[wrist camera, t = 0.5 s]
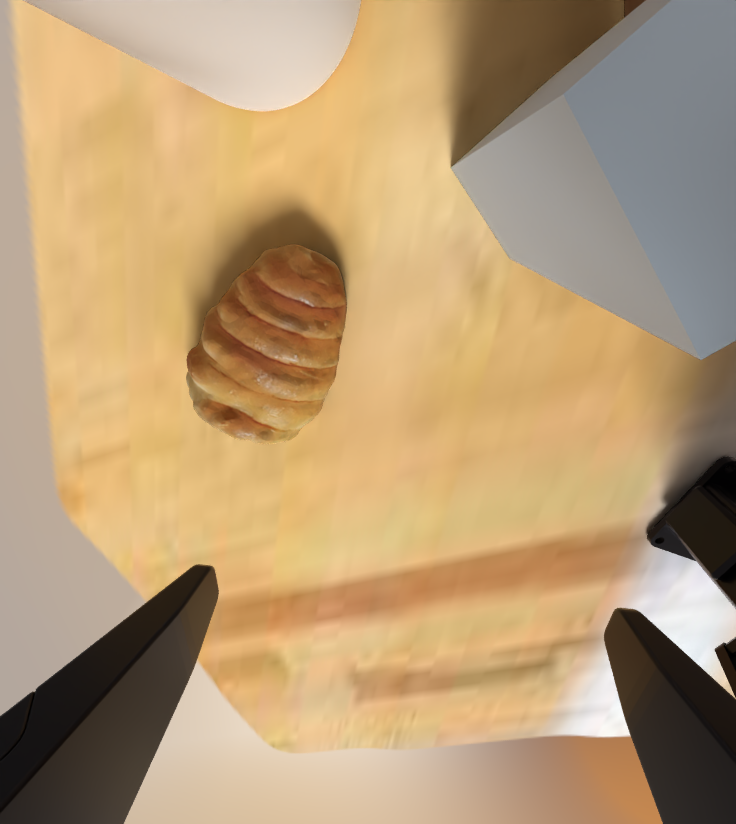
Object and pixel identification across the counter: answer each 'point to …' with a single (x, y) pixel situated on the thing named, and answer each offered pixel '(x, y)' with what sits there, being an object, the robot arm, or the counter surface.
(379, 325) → the counter surface
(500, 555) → the counter surface
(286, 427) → the pastry
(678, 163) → the block
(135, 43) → the pill bottle
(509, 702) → the counter surface
